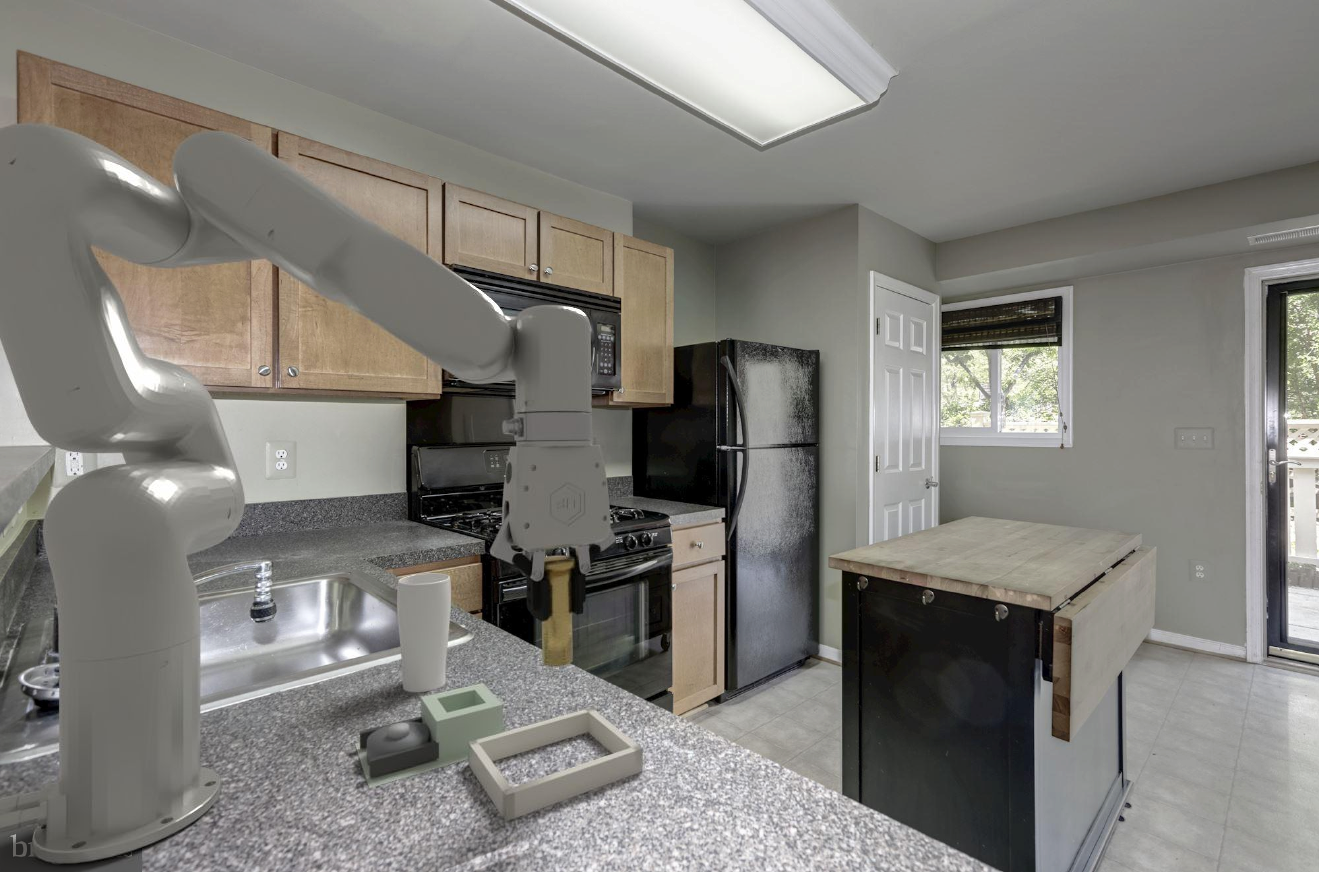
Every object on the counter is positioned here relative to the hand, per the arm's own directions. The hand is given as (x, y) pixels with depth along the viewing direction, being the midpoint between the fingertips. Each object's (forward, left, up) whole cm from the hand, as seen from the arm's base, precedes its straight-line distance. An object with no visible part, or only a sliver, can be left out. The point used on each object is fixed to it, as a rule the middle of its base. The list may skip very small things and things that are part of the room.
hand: (556, 612), depth 61 cm
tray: (0, 0, -16) cm, 16 cm away
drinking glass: (-6, +29, -17) cm, 34 cm away
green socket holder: (-9, +12, -16) cm, 22 cm away
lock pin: (0, 0, -5) cm, 5 cm away
